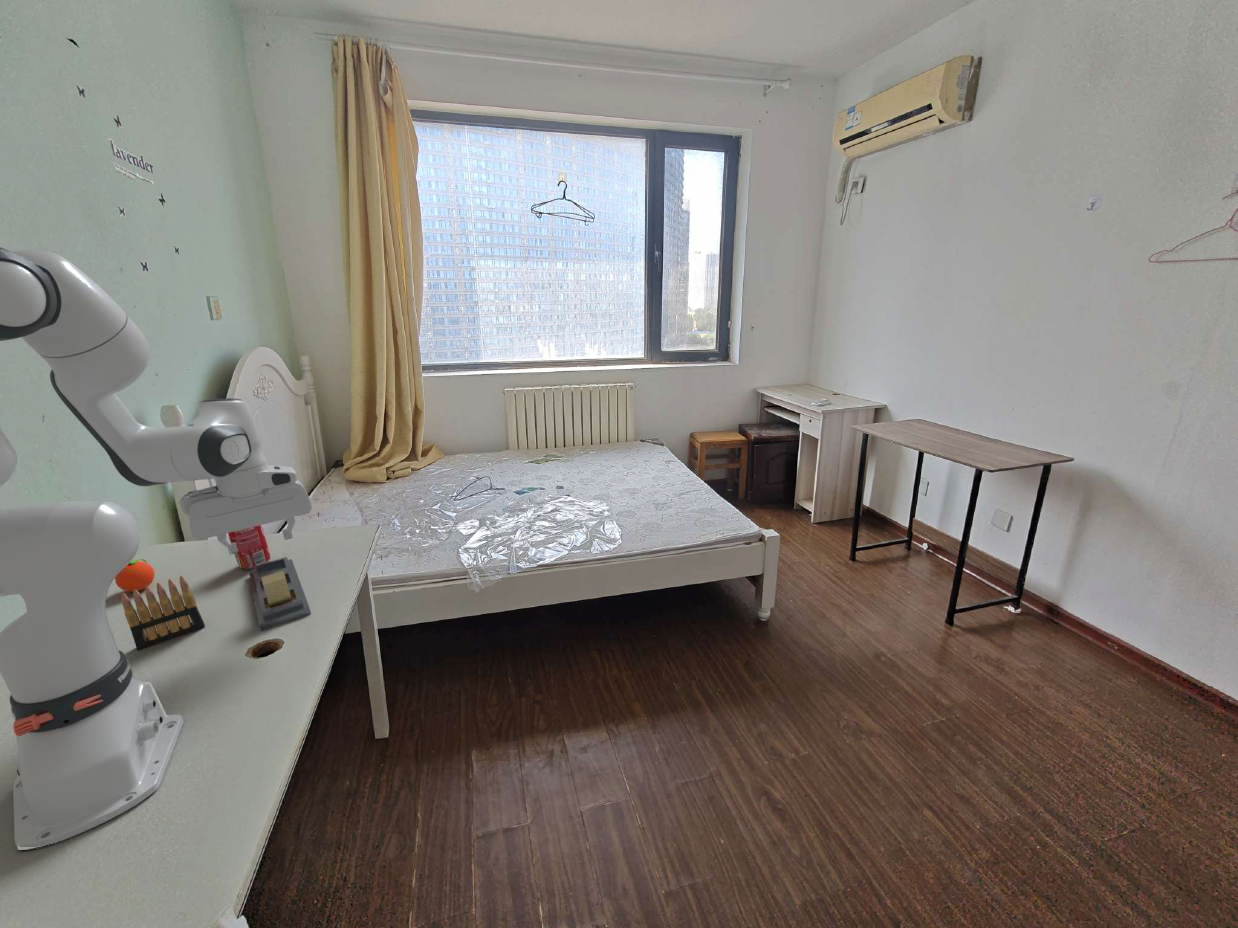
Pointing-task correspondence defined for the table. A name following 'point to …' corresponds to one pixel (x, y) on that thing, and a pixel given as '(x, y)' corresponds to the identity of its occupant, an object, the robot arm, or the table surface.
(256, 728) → the table surface
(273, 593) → the tan rectangular block
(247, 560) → the soda can
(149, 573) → the clementine
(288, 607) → the slotted tray
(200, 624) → the ammunition clip
